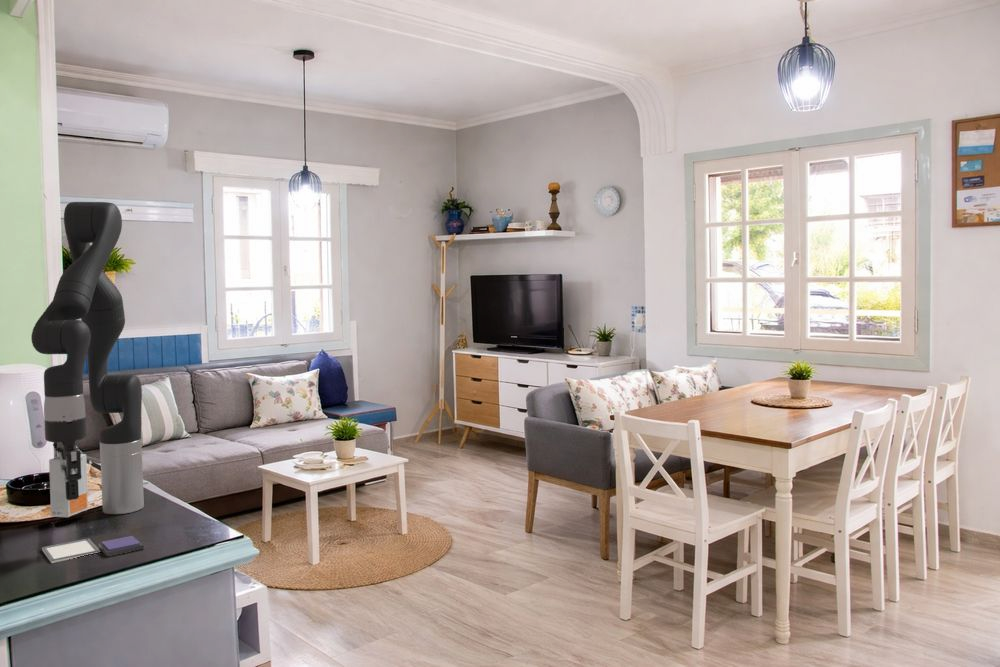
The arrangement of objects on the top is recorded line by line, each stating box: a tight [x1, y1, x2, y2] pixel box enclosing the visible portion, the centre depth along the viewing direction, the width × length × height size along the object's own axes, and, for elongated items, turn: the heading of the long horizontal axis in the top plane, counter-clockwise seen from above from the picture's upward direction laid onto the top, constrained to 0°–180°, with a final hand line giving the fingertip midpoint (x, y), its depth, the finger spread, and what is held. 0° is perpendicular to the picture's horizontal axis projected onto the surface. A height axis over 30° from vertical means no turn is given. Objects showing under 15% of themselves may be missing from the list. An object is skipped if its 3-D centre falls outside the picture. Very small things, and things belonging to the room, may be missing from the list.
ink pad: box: [98, 535, 144, 557], centre depth 168 cm, size 7×7×1 cm
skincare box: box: [48, 453, 89, 518], centre depth 166 cm, size 6×4×12 cm
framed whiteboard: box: [41, 537, 101, 564], centre depth 167 cm, size 10×9×1 cm
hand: (68, 495), depth 166 cm, fingers closed on skincare box, 7 cm apart
